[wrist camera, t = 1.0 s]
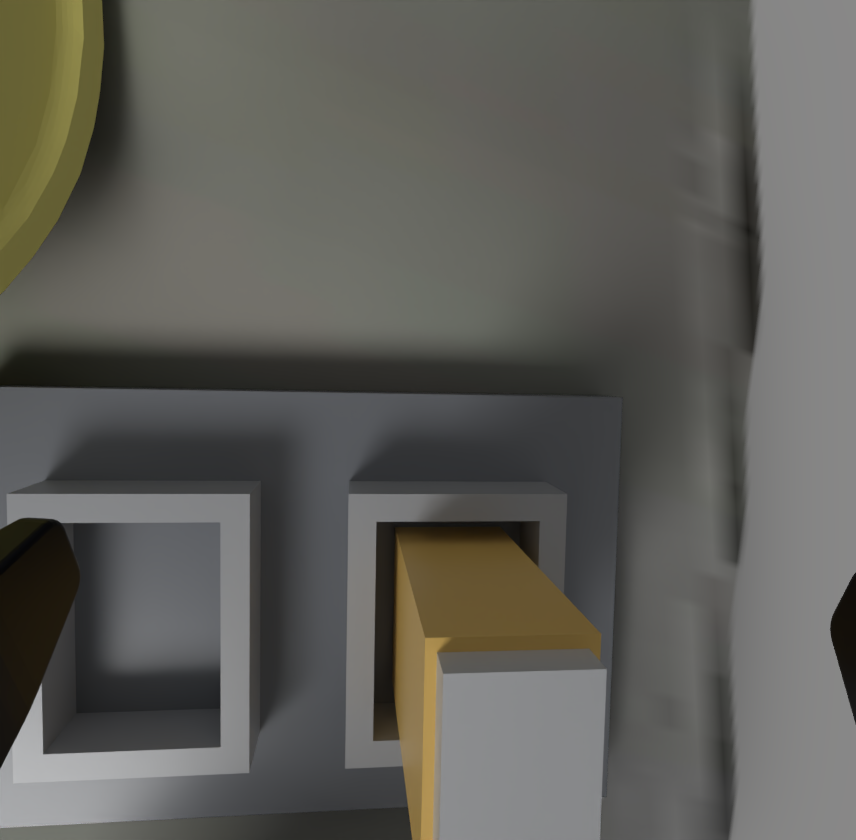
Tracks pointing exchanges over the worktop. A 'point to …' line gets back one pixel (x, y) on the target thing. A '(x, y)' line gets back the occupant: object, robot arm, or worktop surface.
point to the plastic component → (43, 116)
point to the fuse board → (269, 580)
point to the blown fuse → (493, 692)
